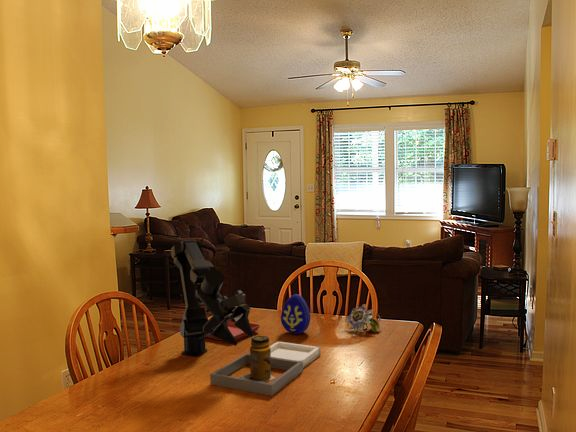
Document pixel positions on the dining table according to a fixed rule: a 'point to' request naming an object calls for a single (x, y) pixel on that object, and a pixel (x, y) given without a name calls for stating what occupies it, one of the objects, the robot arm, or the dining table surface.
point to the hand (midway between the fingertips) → (244, 340)
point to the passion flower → (362, 319)
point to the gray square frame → (270, 389)
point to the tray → (295, 352)
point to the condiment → (260, 360)
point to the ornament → (295, 315)
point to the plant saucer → (236, 331)
